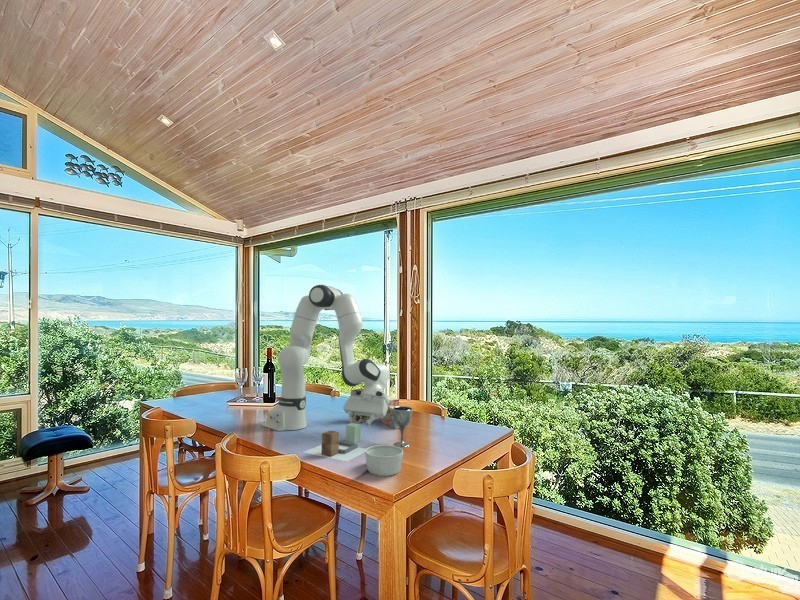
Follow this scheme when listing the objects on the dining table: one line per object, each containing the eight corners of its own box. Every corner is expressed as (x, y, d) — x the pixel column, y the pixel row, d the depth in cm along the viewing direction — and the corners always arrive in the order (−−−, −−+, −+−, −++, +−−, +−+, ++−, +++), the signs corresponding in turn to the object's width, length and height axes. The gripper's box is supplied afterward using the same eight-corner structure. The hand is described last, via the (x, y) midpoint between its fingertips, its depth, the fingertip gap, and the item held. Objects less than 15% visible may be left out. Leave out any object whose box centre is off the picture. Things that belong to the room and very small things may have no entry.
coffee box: (356, 423, 203) (357, 391, 204) (349, 421, 208) (350, 389, 208) (371, 421, 209) (371, 389, 210) (363, 418, 214) (364, 387, 214)
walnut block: (321, 454, 151) (322, 433, 152) (328, 451, 155) (329, 430, 156) (331, 456, 149) (331, 434, 150) (338, 453, 153) (339, 431, 154)
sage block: (345, 444, 169) (345, 425, 169) (351, 441, 173) (351, 422, 173) (354, 446, 167) (354, 426, 167) (360, 443, 171) (360, 424, 171)
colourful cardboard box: (406, 428, 197) (407, 402, 197) (394, 429, 194) (395, 403, 195) (388, 418, 216) (389, 395, 217) (377, 419, 213) (378, 395, 214)
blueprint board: (302, 455, 154) (302, 449, 154) (328, 444, 168) (328, 438, 168) (346, 465, 145) (346, 458, 145) (369, 452, 159) (370, 446, 159)
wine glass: (393, 441, 175) (393, 406, 175) (411, 441, 174) (412, 406, 175) (392, 447, 167) (392, 410, 167) (411, 447, 166) (412, 410, 167)
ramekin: (384, 481, 131) (385, 459, 131) (356, 471, 139) (357, 450, 140) (410, 470, 141) (411, 450, 141) (382, 461, 149) (383, 442, 150)
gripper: (348, 389, 185) (335, 415, 176) (387, 394, 176) (376, 421, 167) (353, 398, 189) (341, 424, 180) (392, 402, 180) (381, 430, 171)
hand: (358, 422), depth 173 cm, fingers open, 8 cm apart
